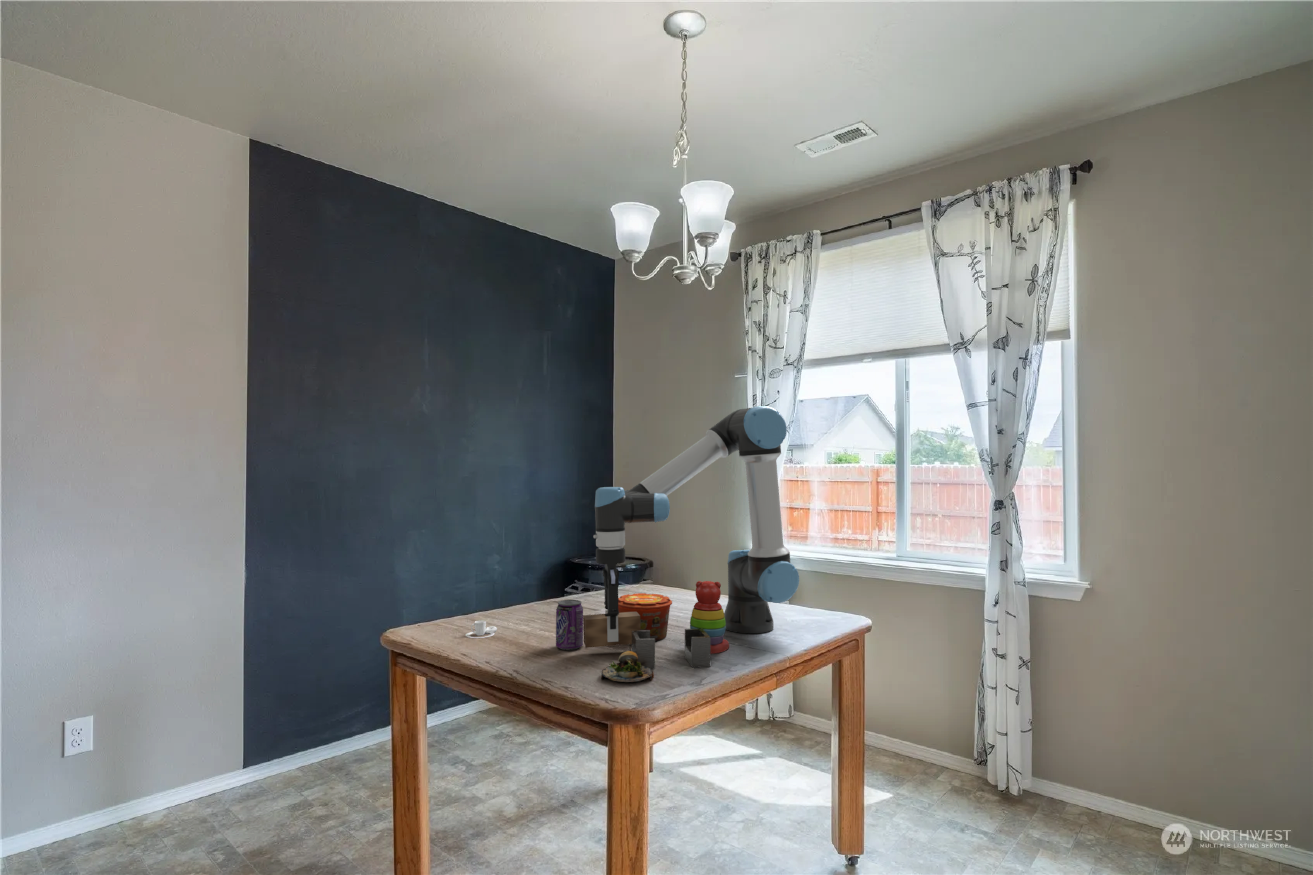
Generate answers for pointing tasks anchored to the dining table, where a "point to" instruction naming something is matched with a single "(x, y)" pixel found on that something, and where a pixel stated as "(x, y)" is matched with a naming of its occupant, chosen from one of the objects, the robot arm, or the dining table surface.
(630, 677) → the burger
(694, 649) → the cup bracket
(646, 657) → the cup bracket
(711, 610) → the stacking bear
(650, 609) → the food container
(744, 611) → the robot arm
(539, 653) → the dining table surface
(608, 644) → the walnut rail
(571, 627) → the beverage can
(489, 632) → the teacup and saucer
